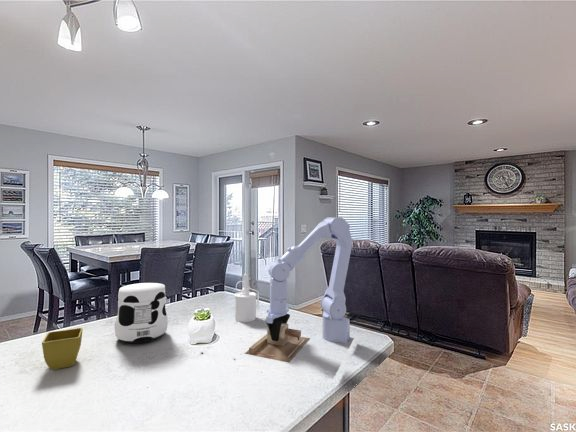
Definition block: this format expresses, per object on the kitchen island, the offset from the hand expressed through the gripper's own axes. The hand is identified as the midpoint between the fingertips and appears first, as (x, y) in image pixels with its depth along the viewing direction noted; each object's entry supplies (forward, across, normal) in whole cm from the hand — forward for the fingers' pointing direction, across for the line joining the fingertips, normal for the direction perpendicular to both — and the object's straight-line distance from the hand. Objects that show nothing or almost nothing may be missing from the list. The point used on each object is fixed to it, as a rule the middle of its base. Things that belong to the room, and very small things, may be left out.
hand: (277, 338), depth 108 cm
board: (+3, +2, +2) cm, 4 cm away
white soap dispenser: (+3, -18, -22) cm, 28 cm away
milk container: (+3, +12, -48) cm, 50 cm away
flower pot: (+3, +37, -52) cm, 64 cm away
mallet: (+1, 0, +2) cm, 3 cm away
